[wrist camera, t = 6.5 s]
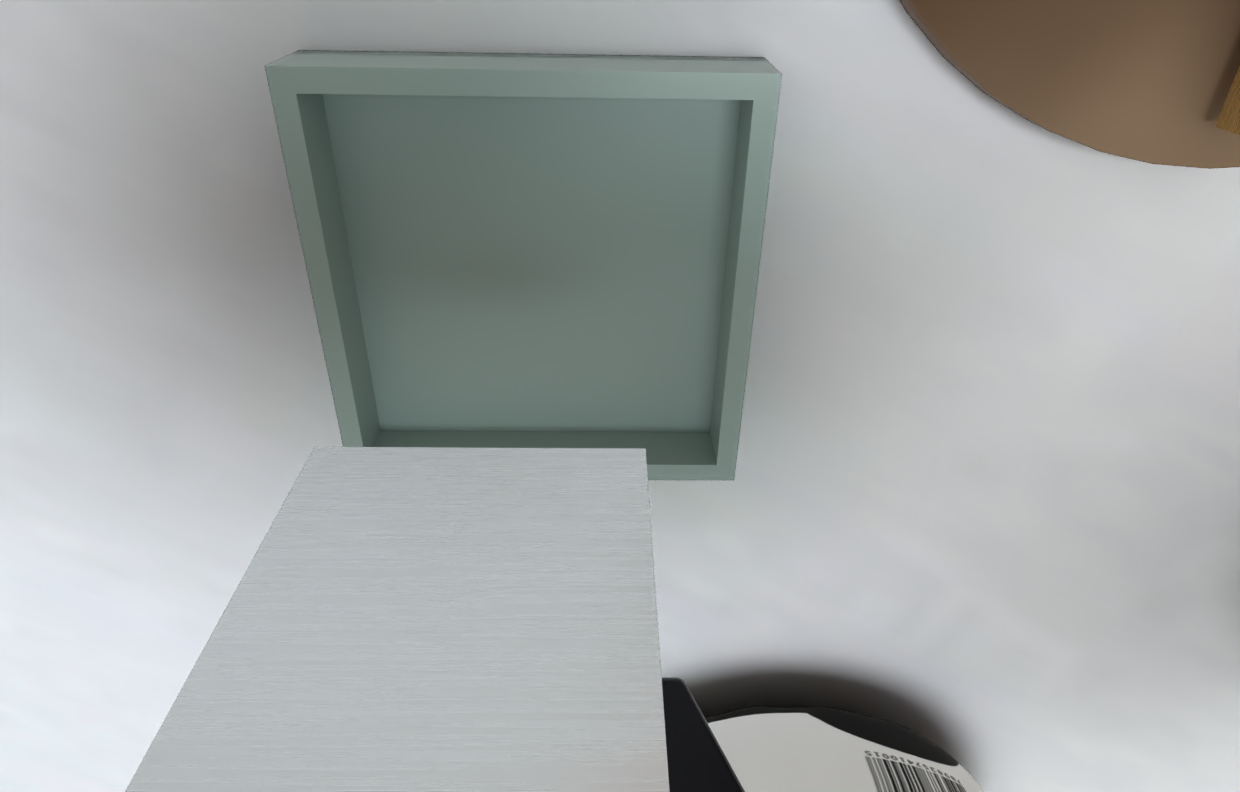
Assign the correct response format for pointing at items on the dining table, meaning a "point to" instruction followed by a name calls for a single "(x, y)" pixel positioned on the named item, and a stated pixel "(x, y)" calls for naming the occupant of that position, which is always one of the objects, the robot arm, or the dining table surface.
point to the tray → (533, 245)
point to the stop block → (435, 633)
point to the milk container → (832, 753)
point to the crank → (1231, 108)
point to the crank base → (1102, 69)
